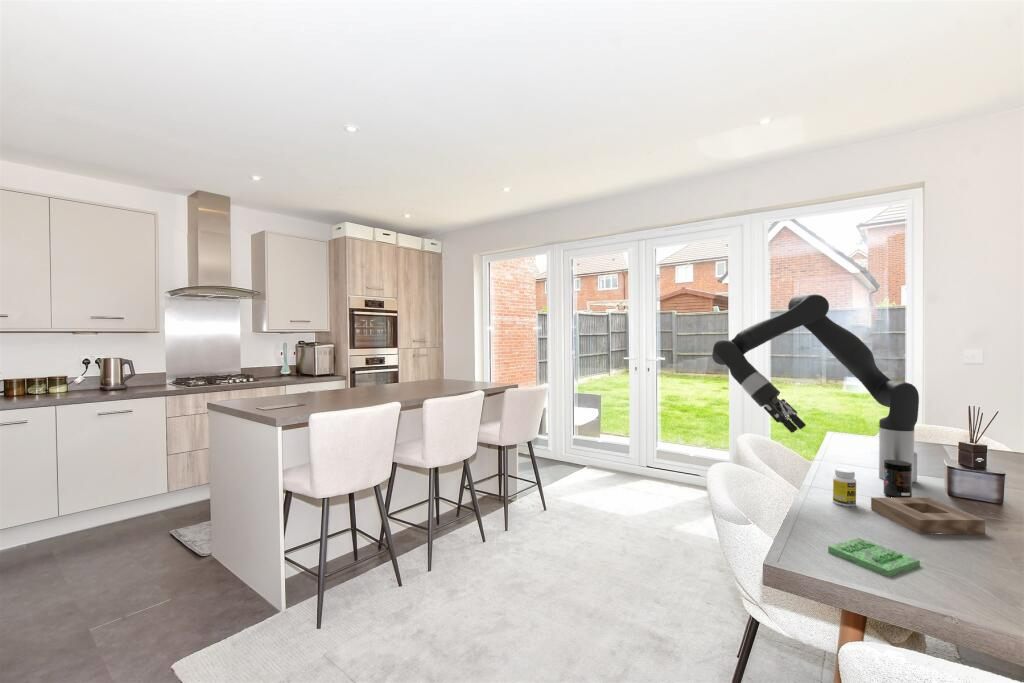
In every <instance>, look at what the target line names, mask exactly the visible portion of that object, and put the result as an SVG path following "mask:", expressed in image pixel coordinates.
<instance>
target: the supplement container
mask: <svg viewBox="0 0 1024 683" xmlns="http://www.w3.org/2000/svg"><path fill="white" fill-rule="evenodd" d="M912 484H913V483H912V464H911V463H909V462H905V461H900V460H884V479H883V494H884V496H886V497H888V496H889V497H888V498H890V497H892V498H913V490H912V489H913V485H912Z"/></svg>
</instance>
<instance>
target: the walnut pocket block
mask: <svg viewBox="0 0 1024 683" xmlns="http://www.w3.org/2000/svg"><path fill="white" fill-rule="evenodd" d="M871 509H872V510H873V512H874V511H875V512H874V513H876V512H877V513H876V514H878V513H879V515H880V514H881V515H880V516H882V515H883V517H884V516H885V517H884V518H886V517H887V518H886V519H888V518H889V519H888V520H890V519H891V520H890V521H892V520H893V522H894V521H895V523H896V522H897V524H898V523H899V524H898V525H900V526H902V527H904V526H905V527H904V528H907V529H909V530H911V531H912V530H913V531H912V532H915V533H917V534H918V535H935V534H934V533H945V534H944V535H986V519H984V518H982V517H979V516H976V515H974V514H971V513H969V512H966V511H964V510H961V509H958V508H956V507H953V506H951V505H949V504H946V503H944V502H941V501H938V500H936V499H934V498H931V497H911V498H890V497H870V510H871ZM872 510H871V511H872ZM931 533H933V534H931Z"/></svg>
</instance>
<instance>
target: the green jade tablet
mask: <svg viewBox="0 0 1024 683" xmlns="http://www.w3.org/2000/svg"><path fill="white" fill-rule="evenodd" d="M827 548H828V549H827V550H828V551H827V552H828V553H829V554H832V555H833V556H834V555H835V556H837V557H838V558H842V559H843V560H846V561H848V562H850V563H853V564H856V565H858V566H861V567H862V568H865V569H868V570H871V571H872V572H874V573H878V574H879V575H881V576H885V577H888V578H889V577H893V576H895V575H897V574H901V573H903V572H906V571H909V570H911V569H916V568H918V567H920V564H921V563H920V559H917V558H914V557H911V556H909V555H907V554H903V553H902V552H899V551H895V550H893V549H891V548H887V547H885V546H882V545H879V544H876V543H874V542H871V541H869V540H865V539H863V538H860V537H858V538H855V539H851V540H847V541H844V542H839V543H835V544H832V545H829V546H828V547H827Z"/></svg>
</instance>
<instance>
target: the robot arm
mask: <svg viewBox="0 0 1024 683" xmlns="http://www.w3.org/2000/svg"><path fill="white" fill-rule="evenodd" d="M787 306H788V307H787V308H788V310H787V311H785V312H782V313H781V314H779V315H776V316H774V317H773V316H772V317H770V318H767V319H764V320H762V321H759V322H757V323H755V324H753V325H751V326H749V327H747V328H745V329H743V330H741V331H740V332H738V333H737V334H736V335H735V337H733V338H732V339H731V340H730V339H725V338H723V339H719V340H717V341H716V342H715V343H714V346H713V348H712V356H711V357H712V359H713V361H714V362H715V363H716V364H717V365H720V366H726V367H727V368H728V369H729V373H730V374H731V376H732V378H733V379H734V380H735V381H736V382H737V383H738V384H739V385H740V386H741V387H742V389H743V390H744V391H745V392H746V393H747V394H748V395H749V397H750V399H751V398H752V400H753V401H754V402H755V403H756V404H757V405H758V406H759V407H760V408H763V409H764V410H765V411H766V412H767V413H768V415H770V417H771V418H773V419H774V421H775V422H776V423H780V424H781V425H783V426H784V427H785V428H786V429H787V430H788V431H789V433H791V434H792V433H793V434H794V433H795V432H796V431H798V429H799V430H802V429H803V428H804V427H806V425H807V424H806V423H805V422H804V421H803V420H802V419H801V418H800V417H799V416H798V412H797V410H796V409H795V408H794V407H793V406H792V405H791V404H789V403H788V402H787V401H786V400H785V399H784V398H781V400H780V399H779V398H778V396H780V394H781V391H780V390H779V389H778V388H776V386H775V385H773V383H772V382H771V381H770V380H769V379H767V377H766V376H764V375H763V374H762V373H761V372H759V370H758V369H756V368H755V367H754V366H753V365H752V363H750V362H749V361H748V359H747V358H746V356H745V354H746V353H748V352H749V351H751V350H754V349H757V348H758V347H759V346H761V345H763V344H765V343H768V342H769V341H771V340H773V339H775V338H777V337H779V336H781V335H783V334H785V333H787V332H790V331H792V330H794V329H797V328H800V327H801V326H803V328H805V329H806V330H808V331H809V332H810V333H812V334H811V335H814V337H815V338H816V339H817V340H818V341H819V342H820V343H821V345H823V346H824V347H825V348H826V349H827V350H828V351H829V353H831V355H833V357H834V358H835V359H837V361H839V363H840V364H841V365H843V367H845V368H846V369H847V370H848V371H849V372H850V374H852V375H853V376H854V377H855V378H856V379H857V380H858V381H859V382H860V383H861V384H862V385H863V386H864V388H865V389H866V390H867V392H868V393H869V394H870V395H871V396H872V398H873V399H874V400H875V401H876V402H877V403H878V404H879V405H881V406H884V407H887V408H889V412H888V415H887V416H885V417H882V418H880V419H879V422H878V423H879V424H878V425H879V427H878V429H879V430H878V431H879V434H878V435H879V438H878V439H879V440H878V441H879V442H878V443H879V444H878V446H879V448H878V449H879V450H878V477H879V478H880V479H882V480H884V460H900V461H905V462H909V463H911V464H912V484H913V483H917V482H918V453H917V452H915V426H916V424H917V423H918V420H919V419H918V417H919V405H920V396H919V395H920V394H919V391H918V389H917V387H916V386H915V385H914V384H911V383H909V382H906V381H896V380H892V379H890V378H889V377H888V376H886V375H885V374H884V373H883V372H882V371H881V370H880V369H879V368H878V367H877V364H876V361H875V357H874V354H873V352H872V350H871V349H870V348H869V346H868V345H866V344H865V343H864V341H862V340H861V339H860V338H859V337H858V336H857V335H855V333H853V332H851V331H849V330H848V329H846V328H844V327H843V326H841V325H840V324H837V323H836V322H834V321H833V320H831V319H830V317H828V316H827V314H828V312H829V309H830V303H829V301H828V300H827V298H826V297H825V296H822V295H820V294H816V293H805V294H799V295H795V296H794V297H792V298H791V299H790V300H789V302H788V305H787Z"/></svg>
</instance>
